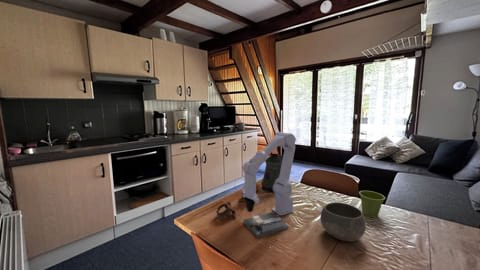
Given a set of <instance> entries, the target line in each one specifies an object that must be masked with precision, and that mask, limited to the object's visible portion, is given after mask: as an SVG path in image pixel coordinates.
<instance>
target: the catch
mask: <svg viewBox="0 0 480 270" xmlns="http://www.w3.org/2000/svg"><path fill="white" fill-rule="evenodd" d="M251 218H252V223H253V224H254V225H256V224H255V222H256V223H257V224H258V225H259V224H263V223H264V221H263V220H262V219H261V218H260V217H259V215H254V216H252V217H251Z"/></svg>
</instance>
